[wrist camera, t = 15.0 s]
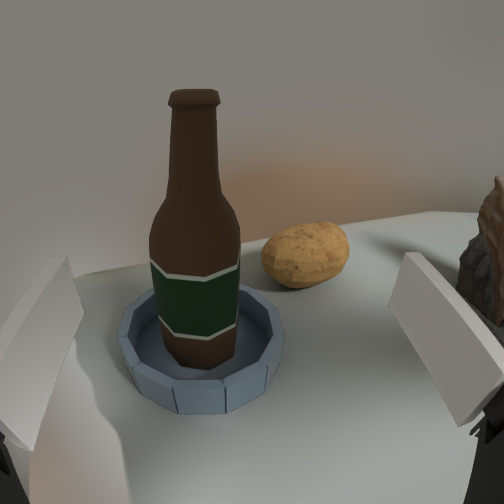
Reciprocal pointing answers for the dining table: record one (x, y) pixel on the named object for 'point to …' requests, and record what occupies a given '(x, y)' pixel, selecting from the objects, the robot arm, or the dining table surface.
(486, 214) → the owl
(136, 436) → the dining table surface
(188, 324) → the beer bottle
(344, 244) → the potato
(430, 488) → the dining table surface
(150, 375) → the bowl
